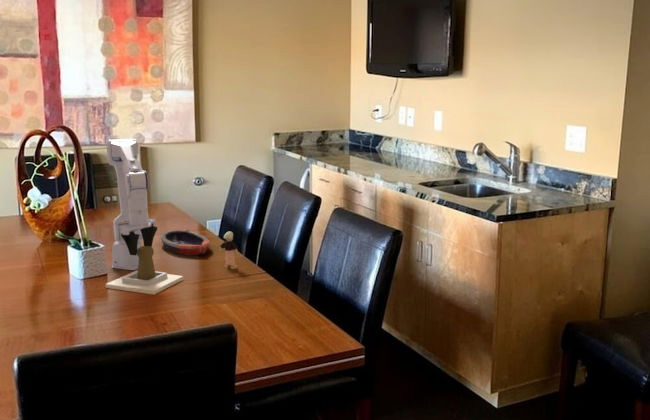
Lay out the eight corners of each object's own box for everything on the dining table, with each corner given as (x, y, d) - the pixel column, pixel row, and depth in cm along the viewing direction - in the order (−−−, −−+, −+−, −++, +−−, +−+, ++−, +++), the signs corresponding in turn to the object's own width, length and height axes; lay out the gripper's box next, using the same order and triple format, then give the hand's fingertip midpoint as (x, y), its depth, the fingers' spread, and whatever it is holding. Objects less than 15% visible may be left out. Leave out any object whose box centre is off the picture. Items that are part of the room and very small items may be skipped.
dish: (190, 238, 276) (189, 226, 275) (220, 255, 250) (220, 242, 249) (152, 243, 268) (152, 231, 267) (180, 261, 242) (179, 248, 241)
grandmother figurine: (242, 266, 235) (241, 231, 232) (237, 269, 232) (236, 233, 229) (222, 264, 238) (221, 229, 235) (217, 267, 234) (215, 231, 231)
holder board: (105, 287, 213) (105, 279, 212) (137, 273, 227) (137, 265, 227) (154, 294, 206) (153, 286, 206) (183, 279, 221) (183, 271, 220)
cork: (151, 283, 213) (149, 249, 210) (133, 282, 214) (131, 248, 212) (159, 277, 218) (158, 244, 216) (142, 276, 220) (140, 243, 217)
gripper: (134, 215, 204) (137, 259, 207) (162, 206, 217) (164, 247, 220) (115, 213, 207) (118, 256, 209) (144, 204, 220) (146, 245, 223)
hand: (140, 251), depth 215 cm, fingers open, 7 cm apart
